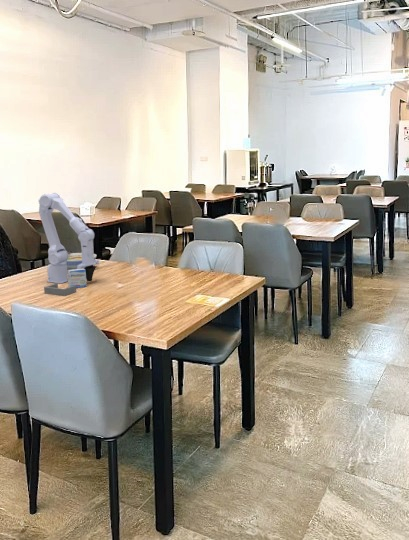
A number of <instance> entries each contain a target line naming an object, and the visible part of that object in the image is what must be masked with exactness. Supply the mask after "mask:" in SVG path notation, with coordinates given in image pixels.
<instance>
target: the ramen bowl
mask: <svg viewBox="0 0 409 540" xmlns="http://www.w3.org/2000/svg"><path fill="white" fill-rule="evenodd" d="M66 251H67V252H68V255H69V258H68V260H67V263H66V264H67V270H72V269H77V265H79V264H81V263H82V252H72V251H69V250H66ZM96 258H97V254H96V253H94V260H96Z"/></svg>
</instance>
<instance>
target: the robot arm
mask: <svg viewBox="0 0 409 540" xmlns="http://www.w3.org/2000/svg"><path fill="white" fill-rule="evenodd" d="M38 204H39V207H38V214H39V217H40V221H41V222H42V223H41V224H42V226H43V230H44V233H45V237H46V240H47V242H48V245H49V248H48V251H47V254H48V257H47V259H48V261H49V264H48V266H47V269H46V270H47V271H46V272H47V280H46V282H48V283H53V284H56V283H57V284H63V283H66V282H68V273H67V270H68V269H67V264H66V263H67V260H68V258H69V255H68V253H69V252H67V251H68V250H66V248H65V246H64V245H63V244H61V240H60V238H59V235H58V231H57V229H56V225H55V221H54V218H53V215H52V213H53V211H54V210H58V211H59V212H60V213H61V214H62V215H63V216H64V218H66V219H67V221H68V222H69V226H70V227H71V228H72V230H73V231H74V232H75V234H76V235H77V238H78V241H79V242H80V247H81V253H82V263H81V264H79V265H77V269H82V268H84V269H85V270H86V282H92V281H93V276H94V272H95V270H96V268H97V267H96V266H95V265H100V261H99V259H95V260H94V254H95V253H94V239H95V232H94V230H93V229H91V228H89V227H88V226H87V225H86V224H85V223H84V222H83V218H80V217H77V216H75V215H74V214H73V212H72V210H70V208H69V206H67V204H66V203H65V202H64V199H63V198H62V197H61V196H60V194H59V193H56V192H52V193H47V194H46V193H44V194H42V195H41V196H40V198H39V199H38Z"/></svg>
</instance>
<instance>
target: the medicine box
mask: <svg viewBox="0 0 409 540" xmlns="http://www.w3.org/2000/svg"><path fill="white" fill-rule="evenodd" d="M67 277H68V281H67V282H68V283H67V284H68V287H71V286H74V285H75V286H76V289H81V288H86V287H87V279H86V270H85V269H84V268H82V269H72V270H70V269H67ZM68 287H67V288H68Z"/></svg>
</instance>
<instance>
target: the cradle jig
mask: <svg viewBox="0 0 409 540" xmlns="http://www.w3.org/2000/svg"><path fill="white" fill-rule="evenodd" d="M58 284H59V283H52V284H50V285H47V286H44V287H43V289H44V294H46V295H52V296H54V295H55V296H61V297H66V296H70V295H72V294H75V293H77V288H76V286H75V285H74V286H71V287H66V288H61V287H59V285H58Z"/></svg>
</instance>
